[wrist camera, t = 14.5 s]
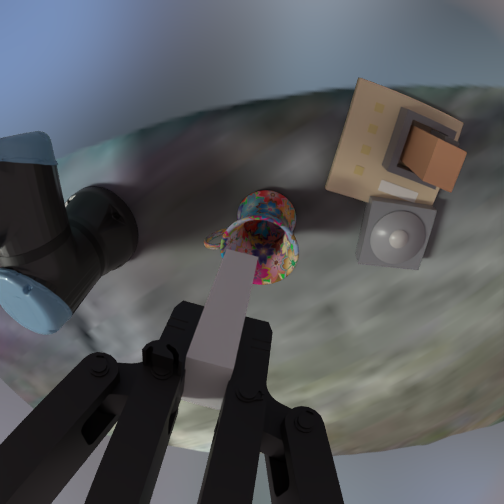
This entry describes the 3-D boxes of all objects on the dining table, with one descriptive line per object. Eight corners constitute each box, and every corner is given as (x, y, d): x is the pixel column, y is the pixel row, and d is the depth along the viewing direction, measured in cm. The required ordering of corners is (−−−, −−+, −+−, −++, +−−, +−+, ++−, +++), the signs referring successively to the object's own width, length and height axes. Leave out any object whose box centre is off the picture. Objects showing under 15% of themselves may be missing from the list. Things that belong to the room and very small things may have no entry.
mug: (298, 184, 44) (298, 216, 35) (299, 243, 49) (298, 285, 40) (214, 187, 46) (192, 218, 37) (221, 243, 50) (204, 283, 41)
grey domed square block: (355, 253, 48) (358, 266, 45) (368, 192, 43) (373, 202, 40) (413, 259, 47) (419, 272, 44) (429, 202, 42) (438, 212, 39)
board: (324, 186, 44) (327, 197, 40) (358, 77, 35) (364, 77, 32) (422, 218, 44) (431, 231, 40) (459, 121, 35) (473, 126, 32)
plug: (397, 157, 39) (422, 180, 30) (409, 119, 36) (440, 133, 27) (421, 166, 39) (451, 192, 30) (434, 130, 36) (468, 147, 27)
